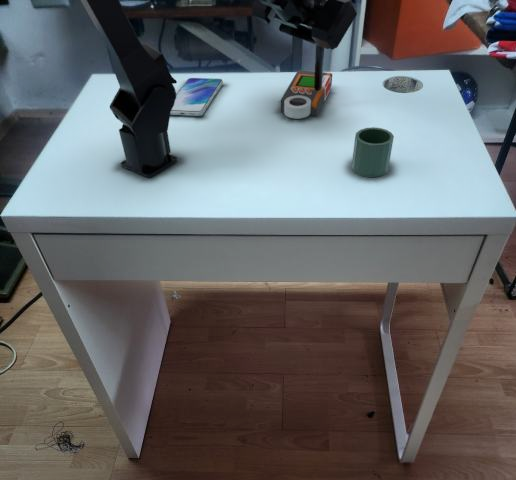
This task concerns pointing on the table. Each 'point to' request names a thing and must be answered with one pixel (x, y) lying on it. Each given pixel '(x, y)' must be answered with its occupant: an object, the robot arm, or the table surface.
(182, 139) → the table surface
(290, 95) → the electronic device
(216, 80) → the smartphone
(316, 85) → the stylus
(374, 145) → the pen cup
